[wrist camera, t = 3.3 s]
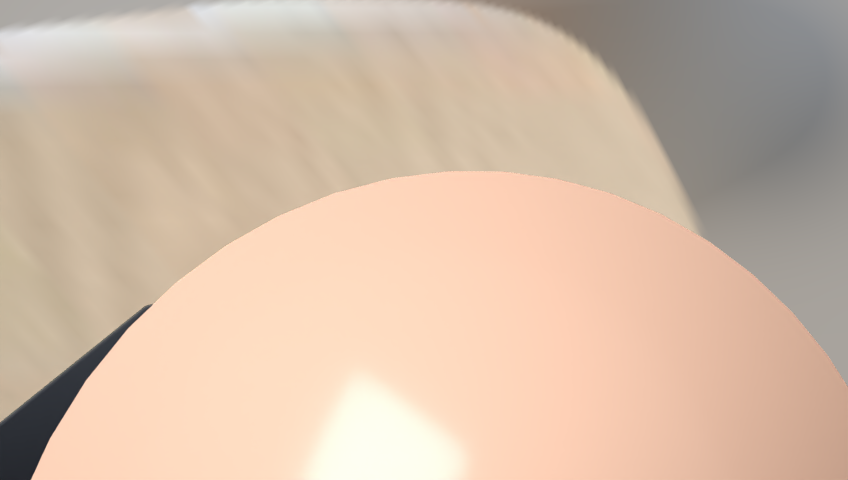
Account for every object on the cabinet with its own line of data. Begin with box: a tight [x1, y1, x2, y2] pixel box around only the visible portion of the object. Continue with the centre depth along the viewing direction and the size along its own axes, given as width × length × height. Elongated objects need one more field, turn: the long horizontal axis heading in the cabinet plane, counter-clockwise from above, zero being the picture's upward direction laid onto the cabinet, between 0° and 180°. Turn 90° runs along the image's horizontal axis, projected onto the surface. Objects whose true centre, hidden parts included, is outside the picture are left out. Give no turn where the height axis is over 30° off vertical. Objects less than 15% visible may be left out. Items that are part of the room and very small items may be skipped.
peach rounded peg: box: [31, 171, 848, 480], centre depth 10 cm, size 5×5×11 cm
